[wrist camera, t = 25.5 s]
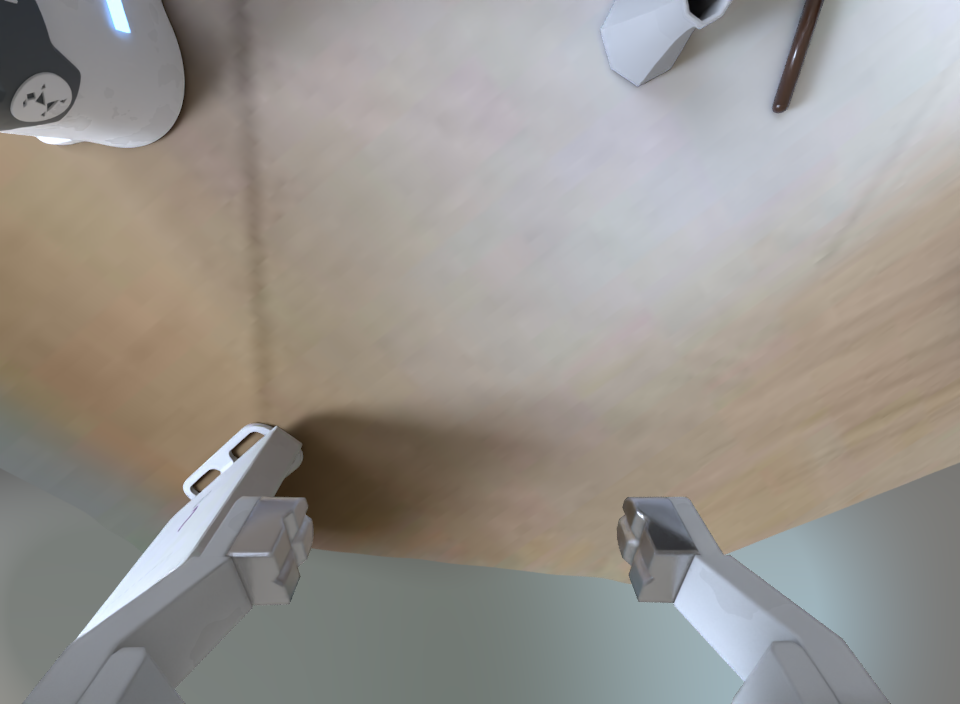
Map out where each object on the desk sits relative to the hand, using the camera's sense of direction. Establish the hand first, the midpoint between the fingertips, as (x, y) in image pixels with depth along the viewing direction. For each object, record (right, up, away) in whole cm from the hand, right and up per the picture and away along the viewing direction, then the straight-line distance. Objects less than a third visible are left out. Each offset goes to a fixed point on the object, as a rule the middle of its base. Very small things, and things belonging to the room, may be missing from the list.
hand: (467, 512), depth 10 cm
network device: (-32, -12, +45) cm, 57 cm away
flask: (+14, +31, +23) cm, 41 cm away
